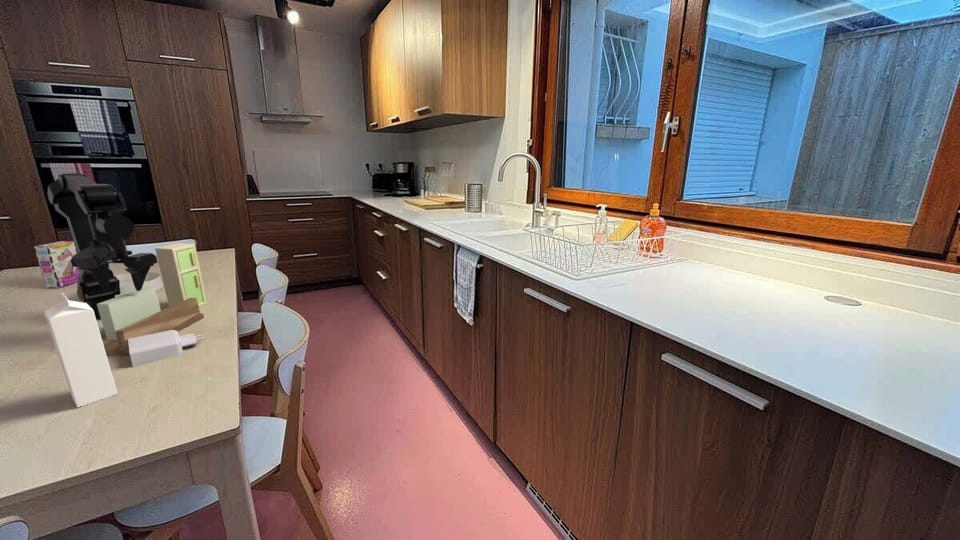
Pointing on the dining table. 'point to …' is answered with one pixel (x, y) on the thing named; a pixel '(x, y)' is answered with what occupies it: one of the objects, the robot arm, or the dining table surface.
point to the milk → (80, 351)
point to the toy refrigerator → (181, 273)
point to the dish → (128, 286)
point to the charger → (159, 346)
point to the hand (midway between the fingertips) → (122, 290)
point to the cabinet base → (154, 325)
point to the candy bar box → (57, 263)
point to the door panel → (127, 310)
